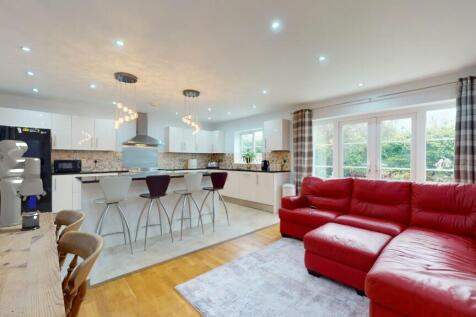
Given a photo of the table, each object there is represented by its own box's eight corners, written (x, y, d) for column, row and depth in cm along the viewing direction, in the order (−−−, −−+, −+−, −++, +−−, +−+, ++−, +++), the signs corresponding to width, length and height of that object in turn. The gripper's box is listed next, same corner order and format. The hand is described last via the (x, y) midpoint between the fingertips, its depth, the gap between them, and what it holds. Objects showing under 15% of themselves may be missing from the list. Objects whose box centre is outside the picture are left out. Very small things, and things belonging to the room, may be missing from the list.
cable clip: (26, 205, 144) (26, 196, 144) (36, 204, 147) (36, 195, 147) (25, 208, 135) (26, 198, 135) (35, 207, 138) (36, 198, 138)
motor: (20, 228, 140) (20, 211, 141) (39, 226, 147) (39, 209, 147) (21, 232, 134) (21, 214, 134) (40, 229, 141) (41, 211, 141)
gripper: (13, 178, 132) (12, 208, 132) (50, 177, 145) (49, 205, 144) (12, 177, 137) (12, 207, 137) (48, 176, 150) (48, 203, 149)
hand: (31, 205), depth 141 cm, fingers closed on cable clip, 4 cm apart
